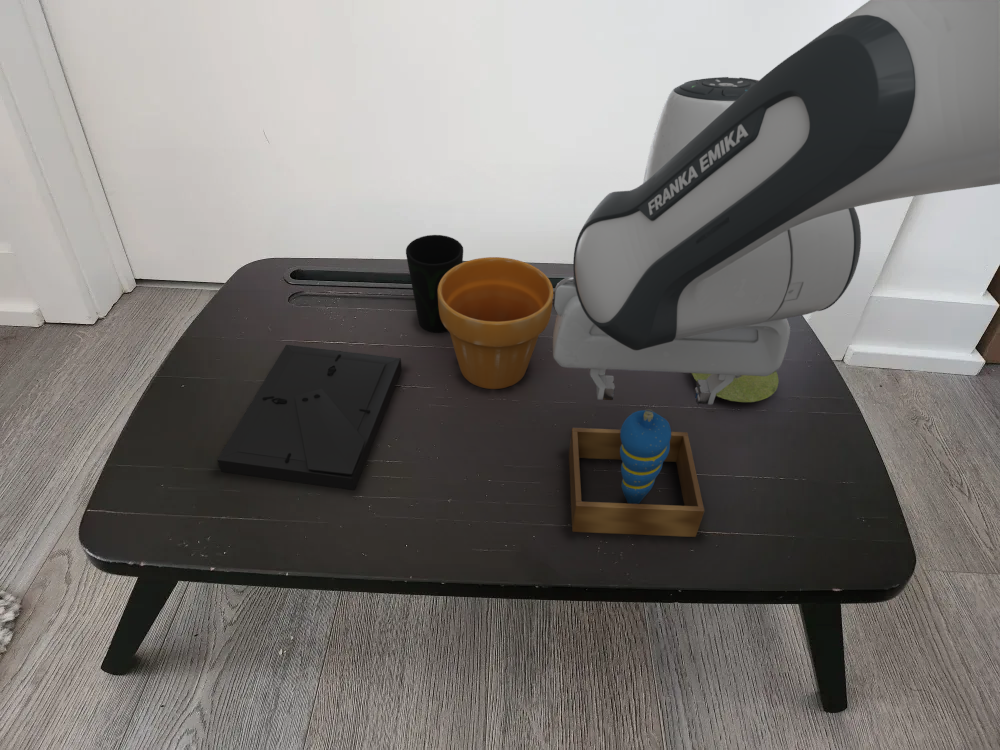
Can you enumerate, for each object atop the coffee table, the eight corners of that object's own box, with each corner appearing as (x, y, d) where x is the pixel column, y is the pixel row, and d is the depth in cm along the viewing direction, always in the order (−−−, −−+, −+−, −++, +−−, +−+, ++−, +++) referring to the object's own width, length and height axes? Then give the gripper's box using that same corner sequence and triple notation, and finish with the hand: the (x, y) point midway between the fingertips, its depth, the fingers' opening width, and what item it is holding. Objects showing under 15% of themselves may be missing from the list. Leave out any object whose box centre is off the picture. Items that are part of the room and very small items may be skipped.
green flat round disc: (792, 388, 95) (796, 377, 94) (738, 425, 90) (742, 414, 88) (723, 345, 102) (727, 334, 100) (670, 377, 96) (672, 366, 95)
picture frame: (354, 490, 81) (401, 370, 96) (351, 473, 79) (400, 353, 94) (221, 471, 82) (288, 356, 98) (215, 455, 81) (285, 340, 96)
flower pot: (549, 339, 102) (555, 260, 93) (543, 408, 91) (550, 327, 83) (449, 331, 103) (447, 252, 94) (433, 399, 92) (428, 318, 83)
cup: (443, 299, 108) (441, 228, 100) (475, 323, 104) (474, 251, 96) (401, 318, 105) (394, 246, 97) (431, 344, 100) (427, 271, 92)
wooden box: (680, 458, 85) (687, 432, 82) (695, 537, 77) (704, 511, 74) (568, 453, 86) (571, 427, 83) (572, 532, 77) (576, 505, 74)
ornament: (653, 529, 78) (678, 432, 68) (605, 521, 78) (623, 425, 68) (654, 492, 82) (678, 395, 72) (608, 485, 82) (626, 388, 72)
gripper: (556, 294, 58) (545, 416, 67) (814, 305, 57) (766, 426, 67) (555, 251, 62) (544, 371, 72) (793, 261, 62) (751, 379, 71)
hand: (653, 397), depth 69 cm, fingers open, 8 cm apart
